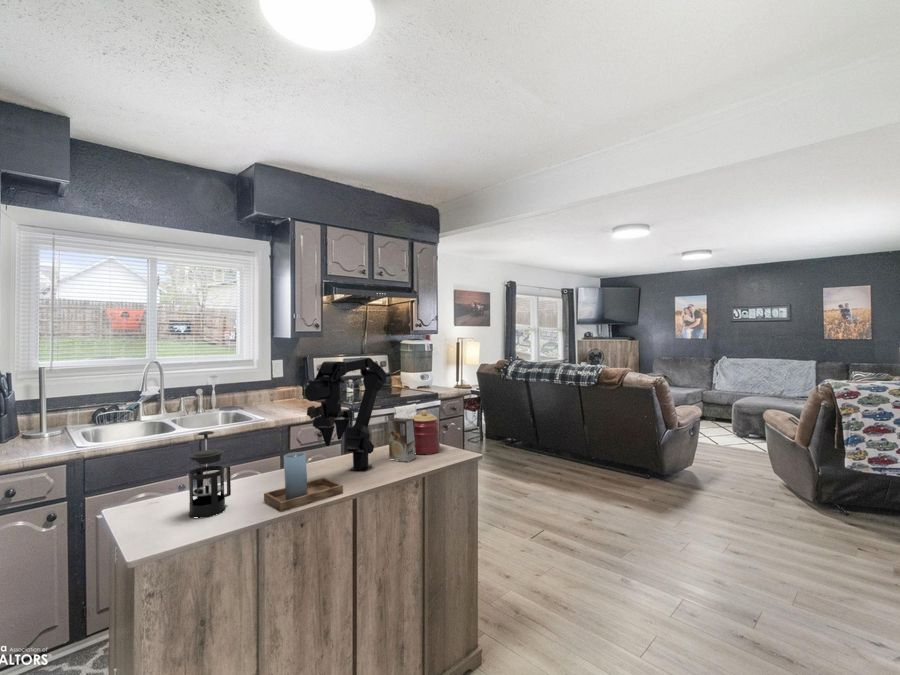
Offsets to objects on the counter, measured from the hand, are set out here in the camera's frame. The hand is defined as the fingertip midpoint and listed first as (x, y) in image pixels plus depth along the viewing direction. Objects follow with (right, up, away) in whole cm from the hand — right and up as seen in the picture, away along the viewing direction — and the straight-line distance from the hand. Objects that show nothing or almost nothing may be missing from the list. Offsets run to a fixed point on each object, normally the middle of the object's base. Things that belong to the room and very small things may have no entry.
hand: (333, 442), depth 155 cm
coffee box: (+21, -13, +25) cm, 35 cm away
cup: (-7, -13, -18) cm, 23 cm away
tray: (-5, -13, -16) cm, 21 cm away
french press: (-29, -14, -26) cm, 41 cm away
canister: (+30, -13, +36) cm, 48 cm away
